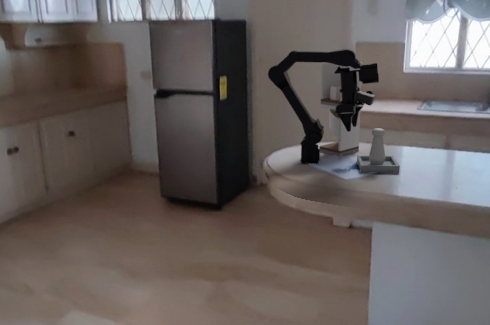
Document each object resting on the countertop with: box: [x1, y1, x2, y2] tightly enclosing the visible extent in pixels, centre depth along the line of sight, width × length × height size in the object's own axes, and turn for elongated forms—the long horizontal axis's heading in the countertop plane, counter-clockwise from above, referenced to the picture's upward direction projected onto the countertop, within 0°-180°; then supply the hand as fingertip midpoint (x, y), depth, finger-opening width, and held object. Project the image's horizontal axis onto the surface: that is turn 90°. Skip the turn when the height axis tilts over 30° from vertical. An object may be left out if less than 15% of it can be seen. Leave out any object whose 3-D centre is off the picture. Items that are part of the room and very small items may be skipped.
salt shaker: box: [368, 127, 386, 165], centre depth 179 cm, size 6×6×13 cm
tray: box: [356, 155, 401, 174], centre depth 181 cm, size 13×13×2 cm
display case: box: [319, 61, 364, 157], centre depth 199 cm, size 11×11×35 cm
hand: (352, 128), depth 182 cm, fingers open, 9 cm apart
